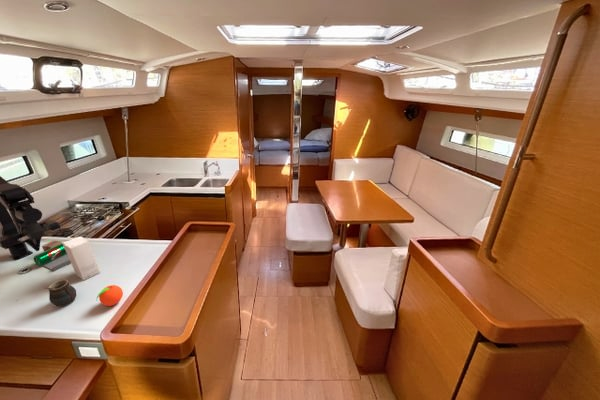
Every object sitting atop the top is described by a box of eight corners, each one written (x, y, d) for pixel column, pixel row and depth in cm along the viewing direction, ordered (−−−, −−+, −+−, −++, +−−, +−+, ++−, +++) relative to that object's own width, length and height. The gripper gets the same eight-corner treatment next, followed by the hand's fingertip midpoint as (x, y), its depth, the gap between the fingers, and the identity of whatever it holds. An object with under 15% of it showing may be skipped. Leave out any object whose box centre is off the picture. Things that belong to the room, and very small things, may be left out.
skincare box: (100, 273, 111) (89, 241, 106) (82, 281, 106) (69, 248, 100) (92, 266, 116) (81, 235, 110) (74, 274, 111) (61, 242, 105)
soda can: (32, 261, 116) (62, 247, 126) (41, 268, 116) (70, 253, 126) (32, 254, 114) (62, 240, 124) (41, 261, 113) (71, 246, 124)
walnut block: (45, 255, 125) (41, 246, 123) (56, 249, 129) (52, 240, 127) (54, 256, 124) (50, 247, 122) (65, 250, 128) (61, 241, 126)
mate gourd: (83, 294, 99) (74, 273, 95) (67, 310, 92) (57, 287, 88) (64, 294, 99) (55, 273, 95) (47, 310, 92) (35, 287, 88)
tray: (37, 263, 118) (36, 260, 118) (70, 248, 129) (69, 245, 129) (54, 271, 113) (52, 268, 112) (87, 255, 124) (86, 252, 123)
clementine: (105, 315, 90) (99, 298, 87) (95, 307, 93) (88, 291, 91) (129, 300, 97) (124, 284, 94) (118, 293, 100) (113, 278, 97)
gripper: (-1, 231, 95) (17, 267, 101) (61, 212, 111) (73, 244, 117) (-14, 226, 100) (4, 260, 106) (47, 207, 115) (60, 239, 121)
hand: (37, 250), depth 112 cm, fingers closed
